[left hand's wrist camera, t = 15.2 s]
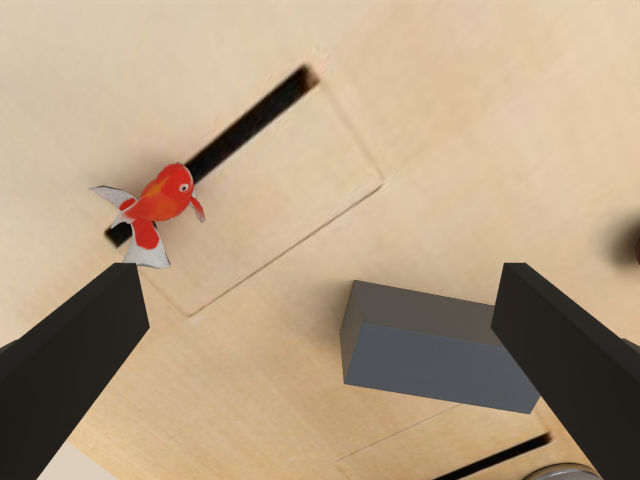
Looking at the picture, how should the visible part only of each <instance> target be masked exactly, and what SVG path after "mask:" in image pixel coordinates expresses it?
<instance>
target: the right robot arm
mask: <svg viewBox="0 0 640 480" xmlns="http://www.w3.org/2000/svg"><path fill="white" fill-rule="evenodd" d="M525 480H603V479H602V478H601V476H600V475H599V474H598V473H597V472H596V471H595V470H593V469H591V468H589V467H587V466H583V465H578V464H560V465H554V466H550V467H547V468H544V469H541V470H539V471H537V472H535V473H533V474H532V475H530V476H529V477H527V478H526V479H525Z"/></svg>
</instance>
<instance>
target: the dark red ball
mask: <svg viewBox="0 0 640 480" xmlns="http://www.w3.org/2000/svg"><path fill="white" fill-rule="evenodd" d="M636 257H637V261H638V262H639V264H640V239H639V242H638V244H637V251H636Z"/></svg>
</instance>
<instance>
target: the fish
mask: <svg viewBox="0 0 640 480" xmlns="http://www.w3.org/2000/svg"><path fill="white" fill-rule="evenodd" d="M181 164H182V163H179V164H178V163H176V164H170V165H167V166H166V167H165V168H164V170H163V171H162V172H160V173H159V175H158V177H157V179H155V180H154V181H152V182H150V183H149V184H148V185H147V187H146V188H145V189H144V191H143V192H142V194H141V197H140V199H139V200H137V199H136V198H135V197H134V196H132V195H130V194H129V193H127V192H125V191H123V190H120V189H116V188H111V187H107V186H99V187H94V188H89V189H90V190H92V191H94V192H96V193H97V194H99V195H101V196H102V197H104V198H105V199H107V200H108V201H110V202H111V203H113V204H114V205H115V206H116V207H118V208H119V209H120V210H121V213H120V214H119V215H118V216H117V218H116V219H115V221H114V223H113V225H112V227H111V229H112V228H114V227H115V226H116V225H117V224H119V223H121V222H125V223H127V224H131V226H132V231H133V237H132V241H131V244H130V246H129V248H128V250H127V252H126V254H125V257H124V259H123V261H122V263H136V265H137V266H148V267H153V268H158V269H159V268H166V267H170V262H169V260H168V258H167V256H166V253H165V250H164V247H163V244H162V241H161V238H160V235H159V232H158V230H157V227H156V224H155V222H154V221H165V220H171V221H172V220H173V219H172V218H174V217H176V216H178V215H179V214H180V213H181V212H183V211H184V210H185V209H186V207H187V206H188V204H189V203H190V204H191V206H192V207H193V208H194V209H195V211H196V214H197V217H198V219H199V220H200V221H201V222H204V220H205V216H204V213H203V208H202V206H201V205H200V203H199V202H198V201H197V200H196V199H195V198H196V192H195V189H194V183H193V178H192V176H191V174H190V171H189V170H188V169H187V168H186V167H185V166H183V165H181ZM111 229H110V230H111Z"/></svg>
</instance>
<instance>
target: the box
mask: <svg viewBox="0 0 640 480" xmlns="http://www.w3.org/2000/svg"><path fill="white" fill-rule="evenodd" d="M494 308H495V306H492V305H486V304H481V303H475V302H470V301H465V300H459V299H454V298H448V297H443V296H438V295H432V294H427V293H422V292H416V291H411V290H405V289H400V288H395V287H389V286H384V285H379V284H373V283H368V282H362V281H357V280H354V283H353V287H352V290H351V294H350V298H349V301H348V305H347V309H346V312H345V316H344V319H343V323H342V327H341V330H340V343H341V355H342V367H343V379H344V384H347V385H353V386H359V387H365V388H371V389H378V390H384V391H390V392H396V393H402V394H408V395H414V396H420V397H427V398H433V399H439V400H445V401H451V402H457V403H463V404H470V405H476V406H482V407H488V408H494V409H500V410H506V411H513V412H519V413H525V414H530V413H531V412H532V410H533V408H534V406H535V405H536V403H537V401H538V399H539V398H540V396H541V395H540V394H539V392H538V391H537V390H536V388H535V387H534V386H533V384H532V383H531V382H530V380H529V379H528V378H527V376H526V375H525V374H524V372H523V371H522V369H521V368H520V367H519V365H518V364H517V363H516V361H515V360H514V359H513V357H512V356H511V355H510V353H509V352H508V351H507V349H506V348H505V347H504V345H503V344H502V343H501V341H500V340H499V339H498V337H497V336H496V335H495V333H494V332H493V331H492V329H491V328H490V326H491V322H492V317H493V312H494Z"/></svg>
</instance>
